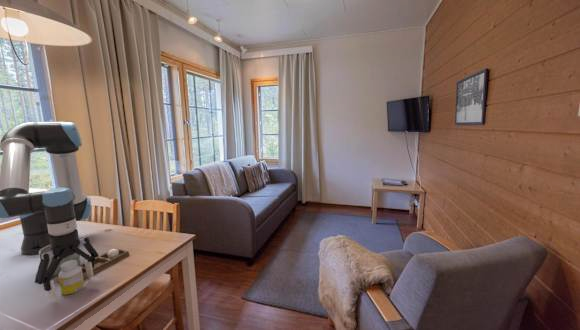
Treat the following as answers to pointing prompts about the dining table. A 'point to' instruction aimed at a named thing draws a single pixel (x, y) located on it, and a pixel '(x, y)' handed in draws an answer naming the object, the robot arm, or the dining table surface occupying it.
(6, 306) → the dining table surface
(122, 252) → the caddy
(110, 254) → the white egg ball
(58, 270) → the planter
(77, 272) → the pill bottle
